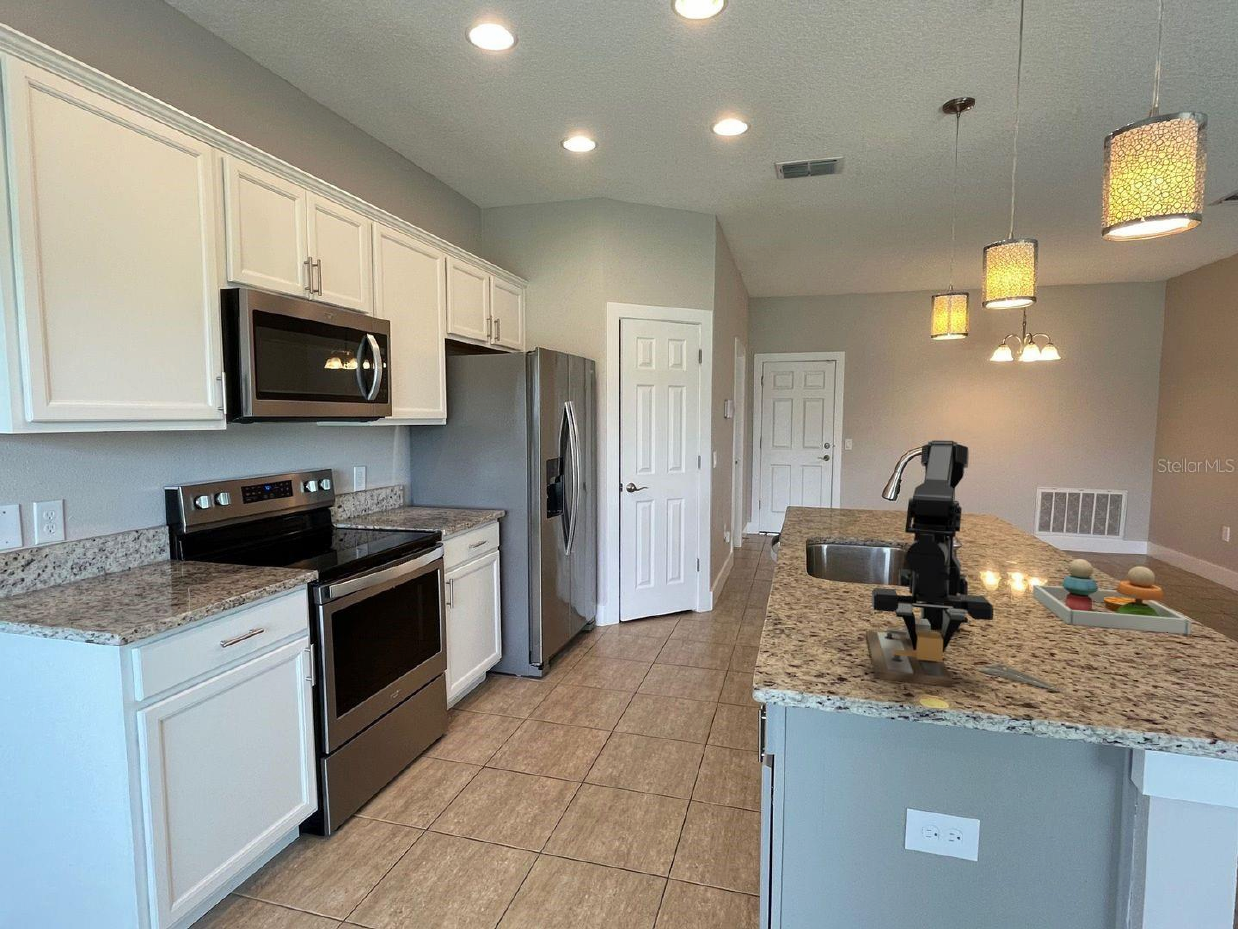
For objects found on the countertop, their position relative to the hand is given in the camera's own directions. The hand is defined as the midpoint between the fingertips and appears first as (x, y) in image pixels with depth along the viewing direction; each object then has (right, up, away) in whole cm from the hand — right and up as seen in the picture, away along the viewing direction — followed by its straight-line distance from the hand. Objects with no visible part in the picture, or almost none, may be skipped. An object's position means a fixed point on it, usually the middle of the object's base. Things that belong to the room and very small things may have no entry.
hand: (927, 650), depth 110 cm
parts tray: (+58, -2, +34) cm, 67 cm away
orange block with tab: (-2, -2, +1) cm, 3 cm away
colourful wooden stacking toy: (+60, -2, +36) cm, 70 cm away
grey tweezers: (+16, -5, -5) cm, 18 cm away
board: (-1, -3, +6) cm, 7 cm away
